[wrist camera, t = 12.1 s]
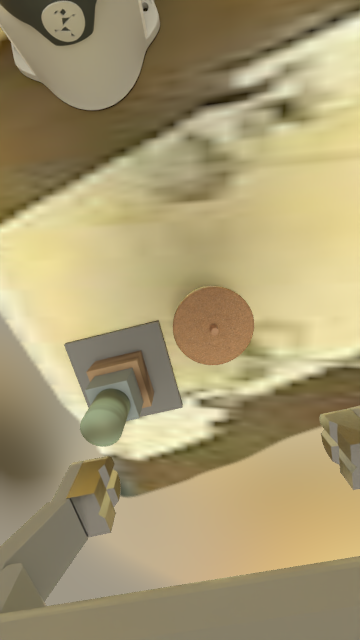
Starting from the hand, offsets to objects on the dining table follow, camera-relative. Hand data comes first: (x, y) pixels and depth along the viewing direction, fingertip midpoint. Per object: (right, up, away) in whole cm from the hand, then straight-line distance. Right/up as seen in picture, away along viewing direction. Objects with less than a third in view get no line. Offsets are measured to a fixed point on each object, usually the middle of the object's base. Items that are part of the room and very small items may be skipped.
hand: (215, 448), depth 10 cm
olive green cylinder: (-11, -7, +25) cm, 28 cm away
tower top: (-11, -6, +29) cm, 31 cm away
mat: (-11, -5, +33) cm, 35 cm away
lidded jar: (+3, +6, +31) cm, 32 cm away
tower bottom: (-11, -5, +33) cm, 35 cm away
